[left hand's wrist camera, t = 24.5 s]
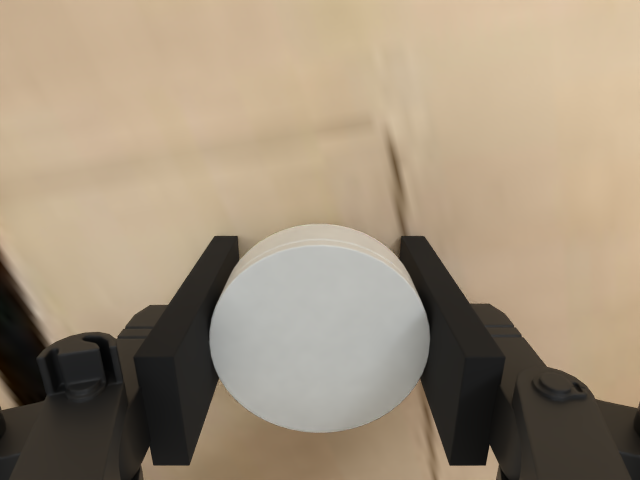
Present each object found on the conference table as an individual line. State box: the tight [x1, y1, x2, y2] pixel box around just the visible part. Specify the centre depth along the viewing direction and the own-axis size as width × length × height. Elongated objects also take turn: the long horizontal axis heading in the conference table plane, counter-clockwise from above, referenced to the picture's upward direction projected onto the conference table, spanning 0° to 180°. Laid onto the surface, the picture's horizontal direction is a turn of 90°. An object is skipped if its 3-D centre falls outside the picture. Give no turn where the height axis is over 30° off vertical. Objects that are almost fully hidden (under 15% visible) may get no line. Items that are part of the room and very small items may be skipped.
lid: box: [209, 224, 430, 433], centre depth 11 cm, size 6×6×2 cm
